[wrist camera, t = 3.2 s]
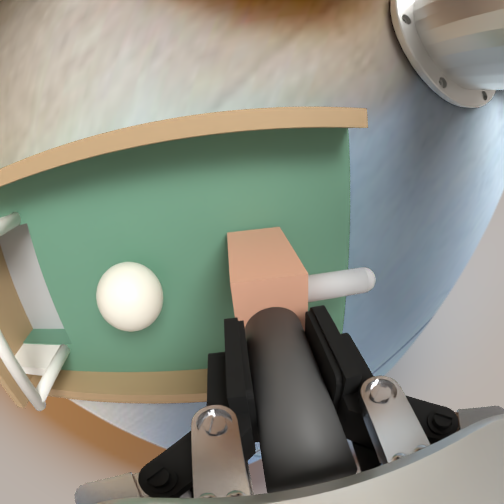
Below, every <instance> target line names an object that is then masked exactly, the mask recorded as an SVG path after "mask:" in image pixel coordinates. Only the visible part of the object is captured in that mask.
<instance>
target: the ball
mask: <svg viewBox="0 0 504 504" xmlns="http://www.w3.org/2000/svg"><path fill="white" fill-rule="evenodd" d="M96 300H97V305H98V308H99V311H100V313H101V315H102V316H103V318H104V319H105V320H106V321H107V322H108V323H109V324H110V325H112V326H113V327H115V328H117V329H120V330H123V331H128V332H133V331H139V330H142V329H144V328H146V327H148V326H150V325H151V324H152V323H153V322H154V321H155V320H156V319H157V317H158V316H159V314H160V312H161V309H162V306H163V290H162V287H161V284H160V282H159V280H158V278H157V277H156V275H155V274H154V273H153V272H152V271H151V270H150V269H149V268H147V267H146V266H144V265H142V264H139V263H135V262H122V263H118V264H116V265H114V266H112V267H110V268H109V269H108V270H107V271H106V272H105V273H104V274H103V275H102V277H101V279H100V281H99V283H98V286H97V291H96Z"/></svg>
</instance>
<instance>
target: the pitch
mask: <svg viewBox="0 0 504 504" xmlns="http://www.w3.org/2000/svg"><path fill="white" fill-rule="evenodd" d="M348 128H368V120H367V109H365V108H347V107H276V108H257V109H244V110H232V111H223V112H214V113H206V114H198V115H191V116H184V117H178V118H172V119H166V120H161V121H155V122H150V123H145V124H140V125H136V126H131V127H127V128H122V129H118V130H114V131H110V132H106V133H102V134H99V135H95V136H91V137H88V138H84V139H81V140H78V141H74V142H71V143H68V144H65V145H62V146H59V147H56V148H53V149H50V150H47V151H44V152H41V153H39V154H36V155H33V156H31V157H28V158H25V159H23V160H20V161H18V162H15V163H13V164H11V165H8V166H6V167H4V168H1V169H0V383H1V385H2V386H3V388H4V389H5V391H6V392H7V393H8V395H9V396H10V397H11V399H12V400H13V401H14V403H15V404H16V405H17V406H18V407H20V408H25V407H26V405H27V403H28V401H30V402H31V404H32V405H33V406H34V407H35V409H36V410H37V411H42V410H43V409H44V408H45V407H46V403H45V400H46V398H47V396H53V397H60V398H68V399H77V400H87V401H99V402H116V403H191V402H207V368H208V353H218V352H225V338H224V319H227V318H235V315H234V308H233V301H232V293H231V286H230V274H229V258H228V242H227V233H228V232H237V231H245V230H254V229H263V228H272V227H280V228H281V230H282V231H283V233H284V235H285V236H286V238H287V239H288V241H289V243H290V244H291V246H292V248H293V249H294V251H295V252H296V254H297V256H298V257H299V259H300V261H301V262H302V264H303V266H304V267H305V269H306V271H307V272H308V275H312V274H320V273H327V272H334V271H340V270H347V269H348V258H349V235H350V157H349V134H348ZM122 262H135V263H139V264H142V265H144V266H146V267H147V268H149V269H150V270H151V271H152V272H153V273H154V274H155V275H156V277H157V278H158V280H159V282H160V284H161V287H162V290H163V306H162V309H161V312H160V314H159V316H158V317H157V319H156V320H155V321H154V322H153V323H152V324H151V325H150V326H148V327H146V328H144V329H142V330H139V331H133V332H128V331H123V330H120V329H117V328H115V327H113V326H112V325H110V324H109V323H108V322H107V321H106V320H105V319H104V318H103V316H102V315H101V313H100V311H99V308H98V305H97V300H96V291H97V286H98V283H99V281H100V279H101V277H102V275H103V274H104V273H105V272H106V271H107V270H108V269H109V268H110V267H112V266H114V265H116V264H118V263H122ZM345 301H346V296H344V297H338V298H332V299H326V300H320V301H314V302H308V311H309V310H310V307H315V306H321V305H324V306H325V307H326V309H327V311H328V313H329V314H330V316H331V318H332V320H333V321H334V323H335V325H336V327H337V329H338V330H339V332H340V334H342V331H343V322H344V312H345Z"/></svg>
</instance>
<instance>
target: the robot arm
mask: <svg viewBox="0 0 504 504" xmlns="http://www.w3.org/2000/svg"><path fill="white" fill-rule="evenodd" d="M390 11H391V17H392V23H393V26H394V29H395V32H396V36H397V38H398V40H399V43H400V45H401V47H402V49H403V51H404V53H405V55H406V56H407V58H408V60H409V61H410V63H411V65H412V66H413V68H414V69H415V70H416V72H417V73H418V74H419V76H420V77H421V78H422V79H423V81H424V82H425V83H426V84H427V85H428V86H429V87H430V88H431V89H432V90H433V91H434V92H435V93H437V94H438V95H439V96H440V97H441V98H443V99H444V100H446V101H448V102H449V103H451V104H454V105H456V106H459V107H465V108H479V107H481V106H484V105H486V104H487V103H488V102H489V101H490V100H491V99H492V97H493V96H494V94H495V92H496V90H504V0H391V7H390ZM305 334H306V337H307V339H308V342H309V344H310V347H311V349H312V352H313V354H314V357H315V359H316V362H317V364H318V367H319V369H320V372H321V374H322V377H323V379H324V382H325V385H326V387H327V390H328V392H329V395H330V397H331V400H332V402H333V405H334V408H335V410H336V413H337V415H338V418H339V421H340V423H341V426H342V428H343V431H344V434H345V436H346V439H347V441H348V444H349V447H350V449H351V452H352V455H353V457H354V460H355V463H356V465H357V472H356V473H357V474H354V475H351V476H348V477H344V478H340V479H337V480H333V481H329V482H325V483H321V484H316V485H312V486H307V487H302V488H297V489H292V490H286V491H280V492H273V493H267V494H258V495H254V493H253V488H252V483H251V478H250V473H249V466H248V460H249V459H250V458H251V457H252V456H253V455H254V454H255V450H256V449H255V442H259V435H258V429H257V415H256V408H255V401H254V393H253V386H252V379H251V372H250V365H249V357H248V350H247V343H246V335H245V327H244V320H242V321H238V317H236V318H227V319H224V338H225V352H218V353H208V368H207V406H206V407H204V408H202V409H200V410H199V411H198V412H197V413H195V415H194V417H193V418H192V422H191V431H190V432H189V433H188V434H186V435H185V436H184V437H183V438H181V439H180V440H179V441H177V442H176V443H175V444H173V445H172V446H171V447H169V448H168V449H167V450H165V451H164V452H163V453H161V454H160V455H159V456H158V457H156V458H155V459H153V460H152V461H150V462H149V463H148V464H146V465H145V466H144V467H143V468H142V469H141V471H140V472H139V473H135V474H132V473H131V472H130V473H126V474H123V475H119V476H115V477H111V478H107V479H103V480H99V481H95V482H90V483H85V484H83V485H81V486H80V487H79V488H78V489H77V490H76V493H75V502H76V504H504V409H503V408H501V407H499V406H490V407H481V408H470V409H458V410H457V412H454V411H452V410H451V409H449V408H447V407H444V406H440V405H436V404H433V403H429V402H426V401H422V400H419V399H415V398H412V397H409V396H405V394H404V392H403V391H402V389H401V387H400V386H399V384H398V383H397V382H396V381H395V380H393V379H392V378H389V377H387V376H374V377H373V375H372V373H371V371H370V369H369V368H368V366H367V364H366V362H365V361H364V359H363V357H362V356H361V354H360V352H359V350H358V349H357V347H356V345H355V343H354V342H353V340H352V338H351V337H350V335H349V334H348V333H343V334H340V332H339V330H338V329H337V327H336V325H335V323H334V321H333V320H332V318H331V316H330V314H329V313H328V311H327V309H326V307H325V306H324V305H321V306H315V307H310V310H309V311H306V312H305Z"/></svg>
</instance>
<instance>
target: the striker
mask: <svg viewBox="0 0 504 504" xmlns="http://www.w3.org/2000/svg"><path fill="white" fill-rule="evenodd" d="M227 242H228V258H229V274H230V286H231V293H232V301H233V308H234V315H235V318H236V317H238V321H242V320H244V327H245V335H246V343H247V350H248V357H249V365H250V372H251V379H252V386H253V393H254V401H255V408H256V415H257V429H258V435H259V442H260V449H261V456H262V462H263V469H264V475H265V482H266V488H267V493H273V492H280V491H286V490H292V489H297V488H302V487H307V486H312V485H316V484H321V483H325V482H329V481H333V480H337V479H340V478H344V477H348V476H351V475H354V474H356V472H357V465H356V463H355V460H354V457H353V455H352V452H351V449H350V447H349V444H348V441H347V439H346V436H345V434H344V431H343V428H342V426H341V423H340V421H339V418H338V415H337V413H336V410H335V408H334V405H333V402H332V400H331V397H330V395H329V392H328V390H327V387H326V385H325V382H324V379H323V377H322V374H321V372H320V369H319V367H318V364H317V362H316V359H315V357H314V354H313V352H312V349H311V347H310V344H309V342H308V339H307V337H306V334H305V312H306V311H308V302H314V301H320V300H326V299H332V298H338V297H344V296H349V295H355V294H361V293H366V292H368V291H370V290H371V289H372V288H373V287H374V285H375V281H376V279H375V275H374V273H373V271H372V270H370V269H369V268H366V267H360V268H354V269H347V270H340V271H334V272H327V273H320V274H312V275H308V272H307V271H306V269H305V267H304V266H303V264H302V262H301V261H300V259H299V257H298V256H297V254H296V252H295V251H294V249H293V248H292V246H291V244H290V243H289V241H288V239H287V238H286V236H285V235H284V233H283V231H282V230H281V228H280V227H272V228H263V229H254V230H245V231H237V232H228V233H227Z"/></svg>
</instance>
